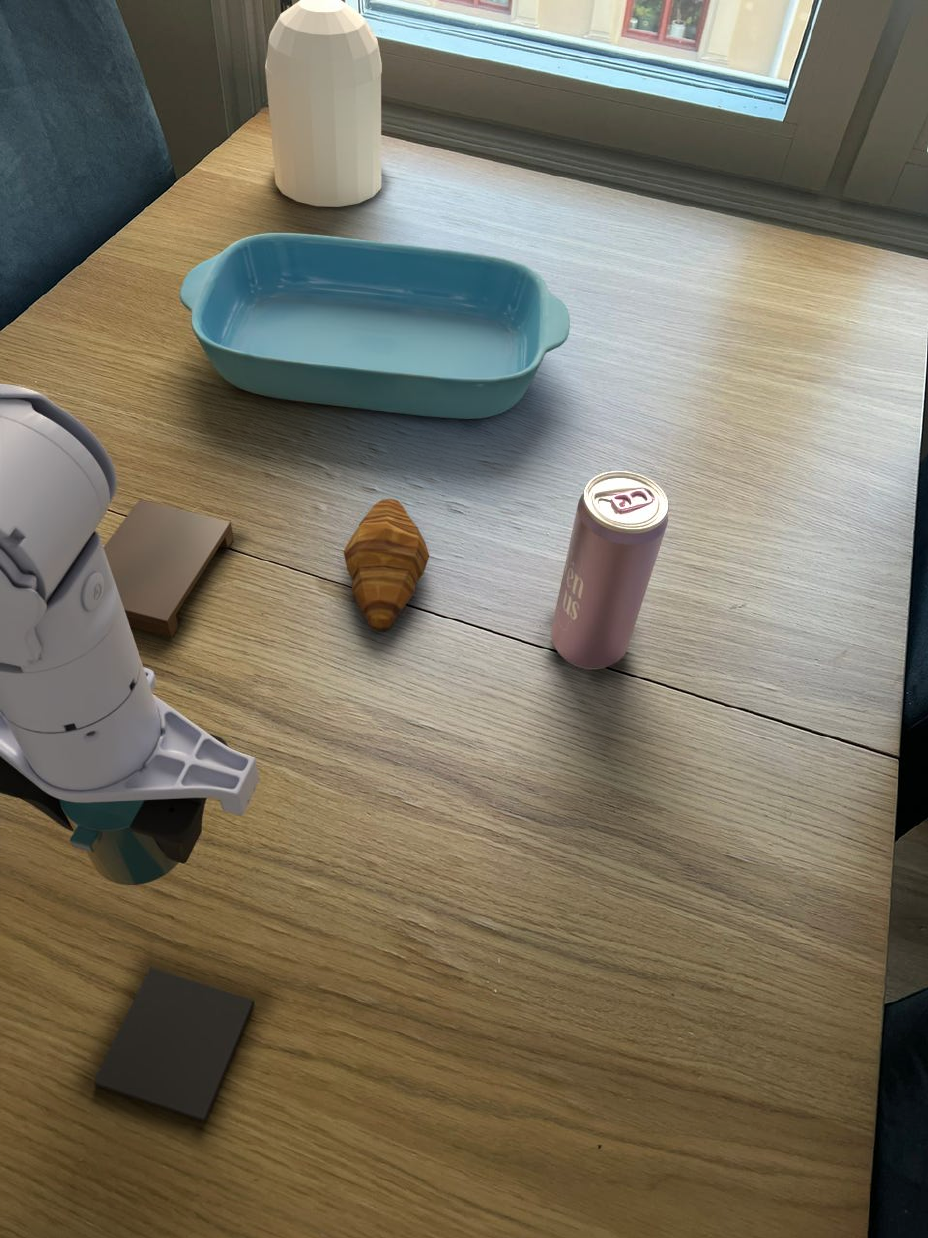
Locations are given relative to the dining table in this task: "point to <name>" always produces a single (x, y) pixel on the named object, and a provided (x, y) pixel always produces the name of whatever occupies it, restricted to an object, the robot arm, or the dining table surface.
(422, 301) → the casserole dish
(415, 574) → the croissant
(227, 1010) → the coaster
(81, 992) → the dining table surface
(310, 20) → the container
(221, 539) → the plate
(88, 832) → the teal tabbed cylinder
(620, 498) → the beverage can
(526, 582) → the dining table surface
